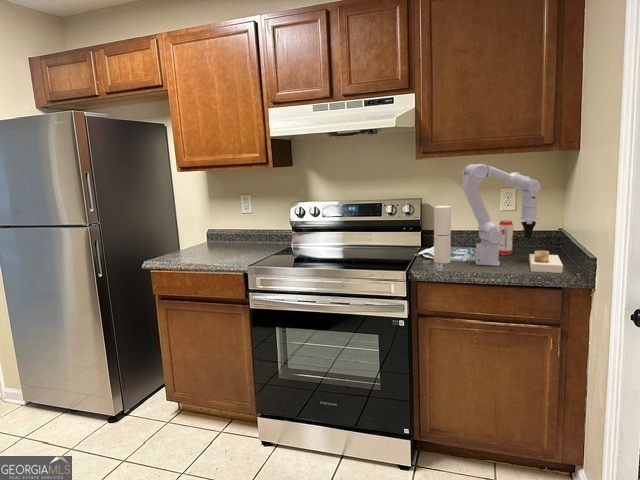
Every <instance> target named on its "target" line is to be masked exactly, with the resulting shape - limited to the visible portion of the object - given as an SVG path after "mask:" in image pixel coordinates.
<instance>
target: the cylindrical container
mask: <svg viewBox="0 0 640 480" xmlns="http://www.w3.org/2000/svg"><path fill="white" fill-rule="evenodd" d="M433 208H434V209H433V210H434V211H433V213H434V214H433V215H434V216H433V218H434V219H433V221H434V222H433V223H434V225H433V230H434V231H433V263H435V264H449V263H451V245H452V244H451V240H452V239H451V238H452V237H451V235H452V231H451V230H452V206H450V205H436V206H433Z"/></svg>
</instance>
